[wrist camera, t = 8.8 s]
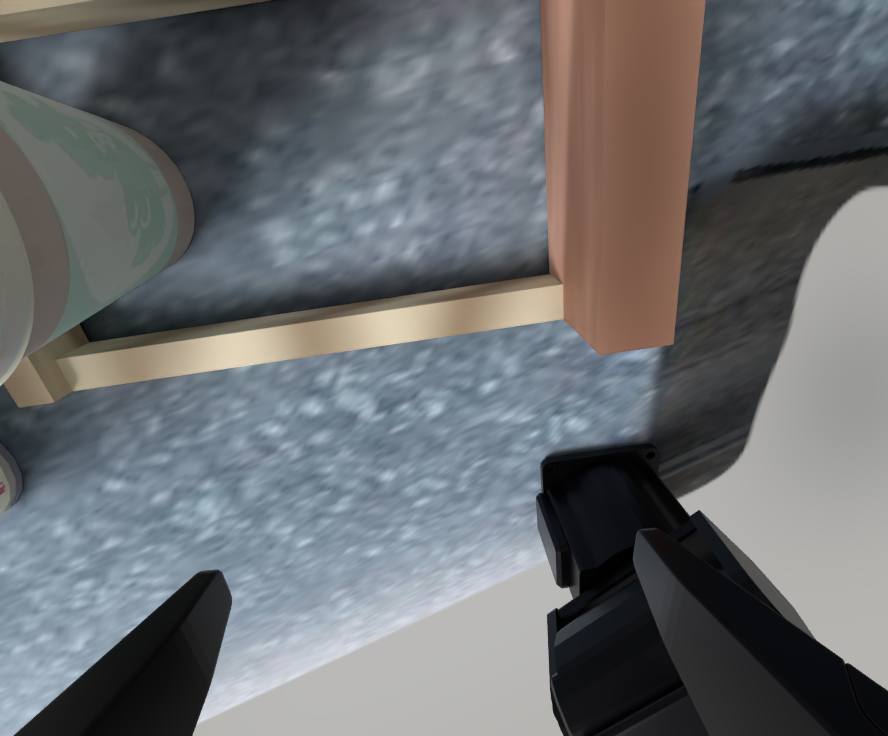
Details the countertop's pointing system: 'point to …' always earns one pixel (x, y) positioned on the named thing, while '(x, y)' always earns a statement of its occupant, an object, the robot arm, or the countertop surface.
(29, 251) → the coffee cup
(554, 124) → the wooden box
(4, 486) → the aerosol can
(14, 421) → the countertop surface
